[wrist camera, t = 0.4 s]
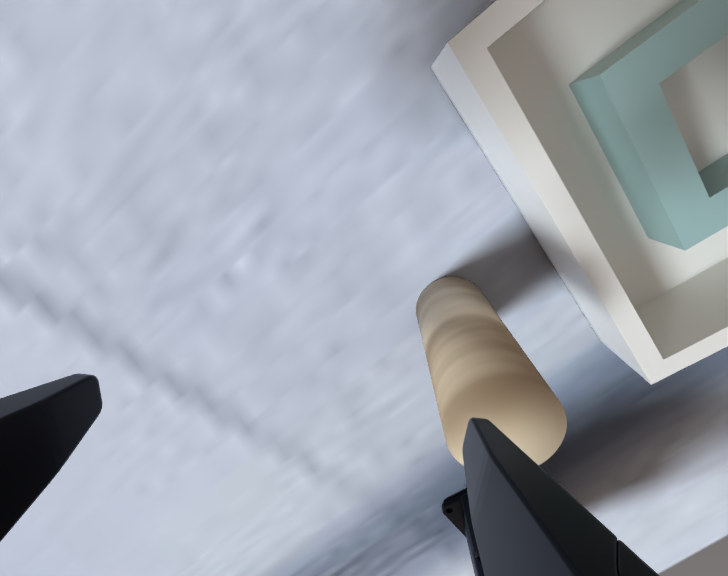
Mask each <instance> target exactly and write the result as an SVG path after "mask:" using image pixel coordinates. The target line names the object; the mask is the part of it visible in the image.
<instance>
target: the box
mask: <svg viewBox="0 0 728 576" xmlns="http://www.w3.org/2000/svg"><path fill="white" fill-rule="evenodd" d="M430 68H431V70H432V71H433V73H434V74H435V76H436V78H437V79H438V81H439V82H440V84H441V86H442V87H443V89H444V90H445V92H446V94H447V95H448V97H449V99H450V100H451V102H452V103H453V105H454V107H455V108H456V110H457V111H458V113H459V115H460V116H461V118H462V119H463V121H464V123H465V124H466V126H467V128H468V129H469V131H470V132H471V134H472V136H473V137H474V139H475V140H476V142H477V144H478V145H479V147H480V148H481V150H482V152H483V153H484V155H485V157H486V158H487V160H488V161H489V163H490V165H491V166H492V168H493V169H494V171H495V173H496V174H497V176H498V177H499V179H500V181H501V182H502V184H503V186H504V187H505V189H506V190H507V192H508V194H509V195H510V197H511V198H512V200H513V202H514V203H515V205H516V206H517V208H518V210H519V211H520V213H521V214H522V216H523V218H524V219H525V221H526V223H527V224H528V226H529V227H530V229H531V231H532V232H533V234H534V235H535V237H536V239H537V240H538V242H539V243H540V245H541V247H542V248H543V250H544V252H545V253H546V255H547V256H548V258H549V260H550V261H551V263H552V264H553V266H554V268H555V269H556V271H557V272H558V274H559V276H560V277H561V279H562V281H563V282H564V284H565V285H566V287H567V289H568V290H569V292H570V293H571V295H572V297H573V298H574V300H575V301H576V303H577V305H578V306H579V308H580V310H581V311H582V313H583V314H584V316H585V318H586V319H587V321H588V322H589V324H590V326H591V327H592V329H593V330H594V332H595V334H596V335H597V337H598V338H599V340H600V341H602V342H603V343H604V344H605V345H606V346H607V347H608V348H610V349H611V350H612V351H613V352H614V353H615V354H616V355H618V356H619V357H620V358H621V359H622V360H623V361H625V362H626V363H627V364H628V365H629V366H630V367H631V368H633V369H634V370H635V371H636V372H637V373H638V374H639V375H641V376H642V377H643V378H644V379H645V380H646V381H648V382H649V383H650V384H651V385H652V384H654V383H656V382H658V381H660V380H662V379H664V378H666V377H667V376H669V375H671V374H673V373H675V372H677V371H679V370H681V369H683V368H685V367H687V366H689V365H691V364H693V363H695V362H697V361H699V360H701V359H703V358H705V357H707V356H709V355H711V354H713V353H715V352H717V351H719V350H721V349H723V348H725V347H727V346H728V0H496V1H495V2H494V3H493V4H492V5H490V6H489V7H488V8H487V9H486V10H485V11H483V12H482V13H481V14H480V15H479V16H478V17H476V18H475V19H474V20H473V21H472V22H471V23H469V24H468V25H467V26H466V27H465V28H463V29H462V30H461V31H460V32H459V33H458V34H456V35H455V36H454V37H453V38H452V39H451V40H449V41H448V42H447V44H446V45H445V47H444V48H443V50H442V51H441V52H440V54H439V55H438V57H437V58H436V60H435V61H434V63H433V64H432V66H431V67H430Z"/></svg>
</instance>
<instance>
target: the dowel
mask: <svg viewBox="0 0 728 576" xmlns="http://www.w3.org/2000/svg"><path fill="white" fill-rule="evenodd" d="M416 314H417V319H418V323H419V328H420V332H421V336H422V340H423V345H424V349H425V353H426V358H427V362H428V366H429V370H430V375H431V379H432V383H433V387H434V392H435V396H436V400H437V405H438V409H439V413H440V417H441V422H442V426H443V430H444V435H445V439H446V443H447V446H448V448H449V450H450V452H451V454H452V455H453V456H454V458H455V459H456V460H457V461H458V462H459V463H461V464H462V465H464V462H463V453H462V449H463V442H464V438H465V433H466V429H467V425H468V421H469V420H470V418H472V417H475V418H484V419H488V420H489V421H491V422H492V423H493V424H494V425H495V426H496V427H497V428H498V429H499V430H500V431H501V432H503V433H504V434H505V435H506V436H507V437H508V438H509V439H510V440H511V441H512V442H514V443H515V444H516V445H517V446H518V447H519V448H520V449H521V450H522V451H523V452H524V453H526V454H527V455H528V456H529V457H530V458H531V459H532V460H533V461H534V462H535V463H536V464H538V465H540V464H542V463H543V462H545V461H546V460H547V459H549V458H550V457H551V456H552V455H553V454H554V453H555V452H556V451H557V449H558V448H559V446H560V445H561V443H562V441H563V439H564V437H565V434H566V429H567V418H566V413H565V411H564V408H563V406H562V404H561V403H560V401H559V400H558V398H557V397H556V396H555V394H554V393H553V391H552V390H551V389H550V387H549V386H548V384H547V383H546V382H545V380H544V379H543V378H542V376H541V375H540V373H539V372H538V371H537V369H536V368H535V366H534V365H533V364H532V362H531V361H530V359H529V358H528V357H527V355H526V354H525V352H524V351H523V350H522V348H521V347H520V345H519V344H518V343H517V341H516V340H515V338H514V337H513V336H512V334H511V333H510V331H509V330H508V329H507V327H506V326H505V324H504V323H503V322H502V320H501V319H500V317H499V316H498V315H497V313H496V312H495V310H494V309H493V308H492V306H491V305H490V303H489V302H488V301H487V299H486V298H485V296H484V295H483V294H482V292H481V291H480V289H479V288H478V287H477V286H476V285H475V284H474V283H472V282H471V281H469V280H467V279H464V278H461V277H444V278H441V279H438V280H436V281H434V282H432V283H431V284H429V285H428V286H427V287H426V288H425V289H424V290H423V291H422V293H421V294H420V296H419V298H418V301H417V305H416Z"/></svg>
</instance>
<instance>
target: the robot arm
mask: <svg viewBox="0 0 728 576" xmlns="http://www.w3.org/2000/svg"><path fill="white" fill-rule="evenodd" d="M101 409H102V399H101V393H100V387H99V382H98V379H97V377H96V376H94V375H88V374H74V375H71V376H68V377H64V378H61V379H58V380H55V381H52V382H49V383H46V384H43V385H40V386H37V387H34V388H31V389H28V390H25V391H22V392H19V393H16V394H13V395H10V396H7V397H4V398H1V399H0V542H1V540H2V539H3V538H4V537H5V536H6V534H7V533H8V532H9V531H10V530H11V529H12V527H13V526H14V525H15V524H16V523H17V521H18V520H19V519H20V518H21V517H22V515H23V514H24V513H25V512H26V511H27V509H28V508H29V507H30V506H31V505H32V503H33V502H34V501H35V500H36V499H37V497H38V496H39V495H40V494H41V493H42V492H43V490H44V489H45V488H46V487H47V486H48V484H49V483H50V482H51V481H52V479H53V478H54V477H55V476H56V474H57V473H58V472H59V471H60V469H61V468H62V466H63V465H64V464H65V462H66V461H67V460H68V458H69V457H70V455H71V454H72V452H73V451H74V450H75V448H76V447H77V445H78V444H79V442H80V441H81V440H82V438H83V437H84V435H85V434H86V432H87V431H88V430H89V428H90V427H91V425H92V424H93V423H94V421H95V420H96V418H97V417H98V415H99V414H100V412H101ZM462 453H463V462H464V469H465V477H466V484H467V491H466V492H463V493H461V494H459V495H457V496H455V497H453V498H451V499H449V500H447V501H445V502H444V503H443V504H442V511H443V513H444V514H445V516H446V517H447V518H448V519H449V520H450V521H451V522H452V523H453V524H454V525H455V526H456V527H457V528H458V529H459V530H460V531H461V532H462V533H463V535H464V536H465V537H466V538H467V542H468V547H469V551H470V555H471V560H472V564H473V569H474V573H475V576H659V575H658V574H657V573H656V572H655V571H654V570H653V569H652V568H650V567H649V566H648V565H647V564H646V563H645V562H644V561H643V560H641V559H640V558H639V557H638V556H637V555H636V554H635V553H634V552H633V551H632V550H630V549H629V548H628V547H627V546H626V545H625V544H624V543H623V542H622V541H620V540H618V541H617V537H616V536H615V535H614V534H613V533H612V532H611V531H610V530H608V529H607V528H606V527H605V526H604V525H603V524H602V523H601V522H600V521H599V520H598V519H596V518H595V517H594V516H593V515H592V514H591V513H590V512H589V511H588V510H587V509H586V508H584V507H583V506H582V505H581V504H580V503H579V502H578V501H577V500H576V499H575V498H574V497H572V496H571V495H570V494H569V493H568V492H567V491H566V490H565V489H564V488H563V487H562V486H560V485H559V484H558V483H557V482H556V481H555V480H554V479H553V478H552V477H551V476H550V475H548V474H547V473H546V472H545V471H544V470H543V469H542V468H541V467H540V466H539V465H538V464H536V463H535V462H534V461H533V460H532V459H531V458H530V457H529V456H528V455H527V454H526V453H524V452H523V451H522V450H521V449H520V448H519V447H518V446H517V445H516V444H515V443H514V442H512V441H511V440H510V439H509V438H508V437H507V436H506V435H505V434H504V433H503V432H501V431H500V430H499V429H498V428H497V427H496V426H495V425H494V424H493V423H492V422H491V421H489V420H488V419H484V418H475V417H472V418H470V420H469V421H468V425H467V429H466V433H465V438H464V442H463V449H462Z"/></svg>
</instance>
